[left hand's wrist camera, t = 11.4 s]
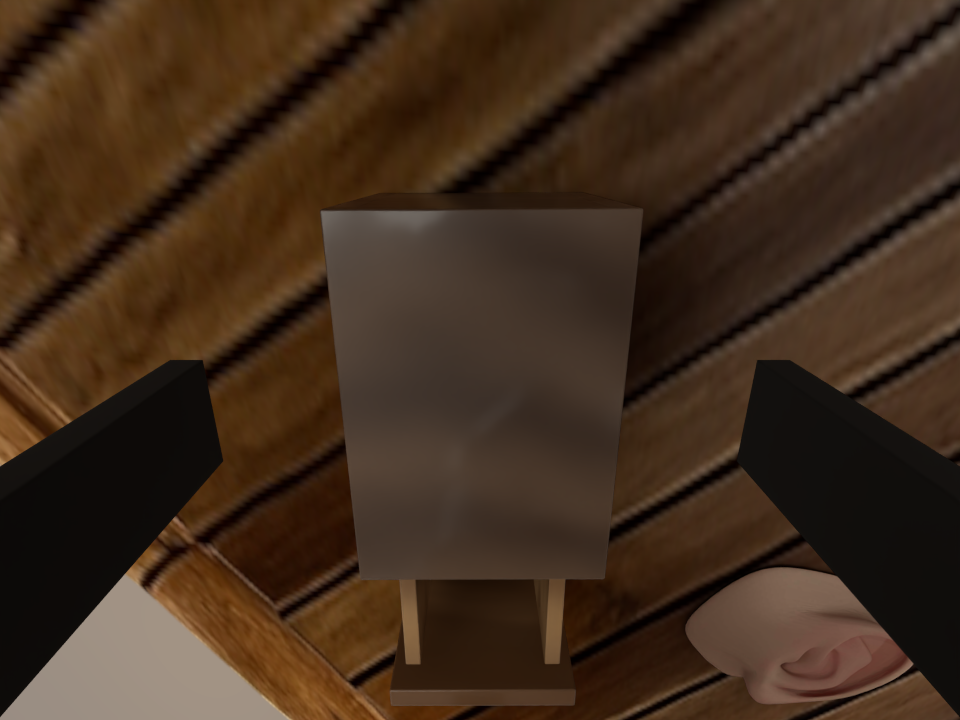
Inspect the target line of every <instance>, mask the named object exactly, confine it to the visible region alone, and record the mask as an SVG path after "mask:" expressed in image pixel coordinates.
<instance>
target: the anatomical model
mask: <svg viewBox="0 0 960 720" xmlns="http://www.w3.org/2000/svg"><path fill="white" fill-rule="evenodd" d="M685 631H686V634H687V637H688V638H689V640H690V642H691V643H692V645H693V646H694V647H695V648H696V649H697V650H698V651H699V653H700V654H701V655H702V656H703V657H704V658H705V659H706V660H707V661H708V662H710V663H711V664H712V665H713V666H715V667H716V668H717V669H719V670H720V671H722V672H724V673H726V674H728V675H731V676H737V677H743V678H744V680H745V683H746V686H747V689H748V692H749V694H750V695H751V697H752V698H753V699H754V700H755V701H757V702H759V703H762V704H783V703H797V702H811V701H823V700H833V699H839V698H845V697H849V696H853V695H856V694H859V693H862V692H865V691H868V690H871V689H873V688H876V687H878V686H881V685H883V684H885V683H887V682H889V681H891V680H893V679H895V678H897V677H898V676H900V675H901V674H902V673H904V672H905V671H906V670H908V669H909V668H910V667H911V666H912V665H913V663H912V662H911V660H910V659H909V658H908V657H907V656H906V655H905V654H904V652H903V651H902V650H901V649H900V648H899V647H898V645H897V644H896V643H895V642H894V641H893V640H892V639H891V637H890V636H889V635H888V634H887V633H886V632H885V631H884V629H883V628H882V627H881V626H880V625H879V624H878V623H877V621H876V620H875V619H874V618H873V617H872V616H871V614H870V613H869V612H868V611H867V610H866V609H865V608H864V606H863V605H862V604H861V603H860V602H859V601H858V600H857V598H856V597H855V596H854V595H853V594H852V593H851V592H850V590H849V589H848V588H847V587H846V586H845V585H844V583H843V582H842V581H841V580H840V579H839V578H838V577H837V576H835V575H831V574H826V573H822V572H817V571H812V570H806V569H799V568H787V567H776V568H768V569H762V570H759V571H756V572H753V573H750V574H748V575H746V576H744V577H742V578H740V579H738V580H736V581H734V582H733V583H731V584H729V585H728V586H726V587H725V588H723V589H722V590H720V591H719V592H718V593H716V594H715V595H714V596H712V597H711V598H710V599H709V600H707V601H706V602H705V603H704V604H702V605H701V606H700V607H699V608H698V609H697V610H696V611H695V612H694V613H693V614H692V615H691V617H690V618H689V620H688V621H687V624H686V628H685Z"/></svg>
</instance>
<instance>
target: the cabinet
mask: <svg viewBox="0 0 960 720" xmlns="http://www.w3.org/2000/svg"><path fill="white" fill-rule="evenodd" d="M320 217H321V226H322V235H323V244H324V253H325V262H326V271H327V280H328V289H329V298H330V307H331V316H332V325H333V334H334V344H335V353H336V362H337V371H338V380H339V389H340V398H341V407H342V416H343V425H344V434H345V443H346V452H347V461H348V470H349V479H350V489H351V498H352V507H353V516H354V525H355V534H356V543H357V552H358V561H359V570H360V578H361V580H460V579H604V578H605V571H606V561H607V552H608V542H609V533H610V523H611V514H612V504H613V495H614V485H615V476H616V466H617V457H618V447H619V438H620V428H621V419H622V409H623V400H624V390H625V381H626V371H627V362H628V352H629V343H630V333H631V324H632V314H633V305H634V295H635V285H636V276H637V266H638V257H639V247H640V238H641V228H642V219H643V208H640V207H636V206H632V205H628V204H625V203H621V202H617V201H613V200H609V199H606V198H602V197H598V196H594V195H590V194H587V193H583V192H579V193H379V194H375V195H371V196H368V197H364V198H360V199H357V200H353V201H350V202H346V203H342V204H339V205H335V206H332V207H328V208H325V209H321V210H320Z"/></svg>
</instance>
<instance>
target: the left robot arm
mask: <svg viewBox="0 0 960 720" xmlns="http://www.w3.org/2000/svg"><path fill="white" fill-rule="evenodd" d="M222 462H223V458H222V453H221V448H220V443H219V438H218V433H217V428H216V423H215V418H214V414H213V409H212V404H211V399H210V394H209V389H208V384H207V379H206V374H205V369H204V365H203V360H170V361H168V362H166V363H165V364H163V365H162V366H160V367H158V368H157V369H155V370H154V371H152V372H150V373H149V374H147V375H146V376H144V377H142V378H141V379H139V380H138V381H136V382H134V383H133V384H131V385H130V386H128V387H126V388H125V389H123V390H122V391H120V392H118V393H117V394H115V395H114V396H112V397H110V398H109V399H107V400H106V401H104V402H102V403H101V404H99V405H98V406H96V407H94V408H93V409H91V410H90V411H88V412H86V413H85V414H83V415H82V416H80V417H78V418H77V419H75V420H74V421H72V422H70V423H69V424H67V425H66V426H64V427H63V428H61V429H59V430H58V431H56V432H55V433H53V434H51V435H50V436H48V437H47V438H45V439H43V440H42V441H40V442H39V443H37V444H35V445H34V446H32V447H31V448H29V449H27V450H26V451H24V452H23V453H21V454H19V455H18V456H16V457H15V458H13V459H11V460H10V461H8V462H7V463H5V464H3V465H2V466H0V717H1V715H2V714H3V713H4V712H5V711H6V710H7V709H8V707H9V706H10V705H11V704H12V703H13V702H14V701H15V699H16V698H17V697H18V696H19V695H20V694H21V692H22V691H23V690H24V689H25V688H26V687H27V686H28V684H29V683H30V682H31V681H32V680H33V679H34V678H35V676H36V675H37V674H38V673H39V672H40V671H41V670H42V668H43V667H44V666H45V665H46V664H47V663H48V662H49V660H50V659H51V658H52V657H53V656H54V655H55V653H56V652H57V651H58V650H59V649H60V648H61V647H62V645H63V644H64V643H65V642H66V641H67V640H68V639H69V637H70V636H71V635H72V634H73V633H74V632H75V630H76V629H77V628H78V627H79V626H80V625H81V624H82V622H83V621H84V620H85V619H86V618H87V617H88V616H89V614H90V613H91V612H92V611H93V610H94V609H95V608H96V606H97V605H98V604H99V603H100V602H101V601H102V600H103V598H104V597H105V596H106V595H107V594H108V593H109V592H110V590H111V589H112V588H113V587H114V586H115V585H116V583H117V582H118V581H119V580H120V579H121V578H122V577H123V575H124V574H125V573H126V572H127V571H128V570H129V569H130V567H131V566H132V565H133V564H134V563H135V562H136V561H137V559H138V558H139V557H140V556H141V555H142V554H143V553H144V551H145V550H146V549H147V548H148V547H149V546H150V544H151V543H152V542H153V541H154V540H155V539H156V538H157V536H158V535H159V534H160V533H161V532H162V531H163V530H164V528H165V527H166V526H167V525H168V524H169V523H170V522H171V520H172V519H173V518H174V517H175V516H176V515H177V513H178V512H179V511H180V510H181V509H182V508H183V507H184V505H185V504H186V503H187V502H188V501H189V500H190V499H191V497H192V496H193V495H194V494H195V493H196V492H197V491H198V489H199V488H200V487H201V486H202V485H203V484H204V483H205V481H206V480H207V479H208V478H209V477H210V476H211V474H212V473H213V472H214V471H215V470H216V469H217V468H218V466H219V465H220V464H221V463H222ZM737 462H738V463H739V464H740V465H741V466H742V468H743V469H744V470H745V471H746V472H747V473H748V474H749V476H750V477H751V478H752V479H753V480H754V481H755V483H756V484H757V485H758V486H759V487H760V488H761V489H762V491H763V492H764V493H765V494H766V495H767V496H768V497H769V499H770V500H771V501H772V502H773V503H774V504H775V505H776V507H777V508H778V509H779V510H780V511H781V512H782V513H783V515H784V516H785V517H786V518H787V519H788V520H789V522H790V523H791V524H792V525H793V526H794V527H795V528H796V530H797V531H798V532H799V533H800V534H801V535H802V536H803V538H804V539H805V540H806V541H807V542H808V543H809V544H810V546H811V547H812V548H813V549H814V550H815V551H816V553H817V554H818V555H819V556H820V557H821V558H822V559H823V561H824V562H825V563H826V564H827V565H828V566H829V567H830V569H831V570H832V571H833V572H834V573H835V574H836V575H837V577H838V578H839V579H840V580H841V581H842V582H843V583H844V585H845V586H846V587H847V588H848V589H849V590H850V592H851V593H852V594H853V595H854V596H855V597H856V598H857V600H858V601H859V602H860V603H861V604H862V605H863V606H864V608H865V609H866V610H867V611H868V612H869V613H870V614H871V616H872V617H873V618H874V619H875V620H876V621H877V623H878V624H879V625H880V626H881V627H882V628H883V629H884V631H885V632H886V633H887V634H888V635H889V636H890V637H891V639H892V640H893V641H894V642H895V643H896V644H897V645H898V647H899V648H900V649H901V650H902V651H903V652H904V654H905V655H906V656H907V657H908V658H909V659H910V660H911V662H912V663H913V664H914V665H915V666H916V667H917V668H918V670H919V671H920V672H921V673H922V674H923V675H924V676H925V678H926V679H927V680H928V681H929V682H930V683H931V684H932V686H933V687H934V688H935V689H936V690H937V691H938V693H939V694H940V695H941V696H942V697H943V698H944V699H945V701H946V702H947V703H948V704H949V705H950V706H951V707H952V709H953V710H954V711H955V712H956V713H957V714H958V715H959V717H960V466H958V465H957V464H955V463H953V462H952V461H950V460H949V459H947V458H945V457H944V456H942V455H941V454H939V453H937V452H936V451H934V450H933V449H931V448H929V447H928V446H926V445H925V444H923V443H921V442H920V441H918V440H917V439H915V438H913V437H912V436H910V435H909V434H907V433H905V432H904V431H902V430H901V429H899V428H897V427H896V426H894V425H893V424H891V423H889V422H888V421H886V420H885V419H883V418H882V417H880V416H878V415H877V414H875V413H874V412H872V411H870V410H869V409H867V408H866V407H864V406H862V405H861V404H859V403H858V402H856V401H854V400H853V399H851V398H850V397H848V396H846V395H845V394H843V393H842V392H840V391H838V390H837V389H835V388H834V387H832V386H830V385H829V384H827V383H826V382H824V381H822V380H821V379H819V378H818V377H816V376H814V375H813V374H811V373H810V372H808V371H806V370H805V369H803V368H802V367H800V366H798V365H797V364H795V363H794V362H792V361H790V360H757V365H756V369H755V374H754V379H753V384H752V389H751V394H750V399H749V404H748V409H747V414H746V418H745V423H744V428H743V433H742V438H741V443H740V448H739V453H738V458H737Z"/></svg>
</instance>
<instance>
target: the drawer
mask: <svg viewBox="0 0 960 720" xmlns="http://www.w3.org/2000/svg"><path fill="white" fill-rule="evenodd" d="M565 580H566V579H460V580H400V593H401V606H402V622H401V628H400V634H399V640H398V646H397V651H396V657H395V663H394V669H393V675H392V681H391V686H390V698H391V705H392V706H472V705H574V704H575V694H576V688H575V682H574V677H573V671H572V666H571V661H570V655H569V650H568V644H567V639H566V633H565V628H564V622H563V608H564V594H565Z"/></svg>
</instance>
